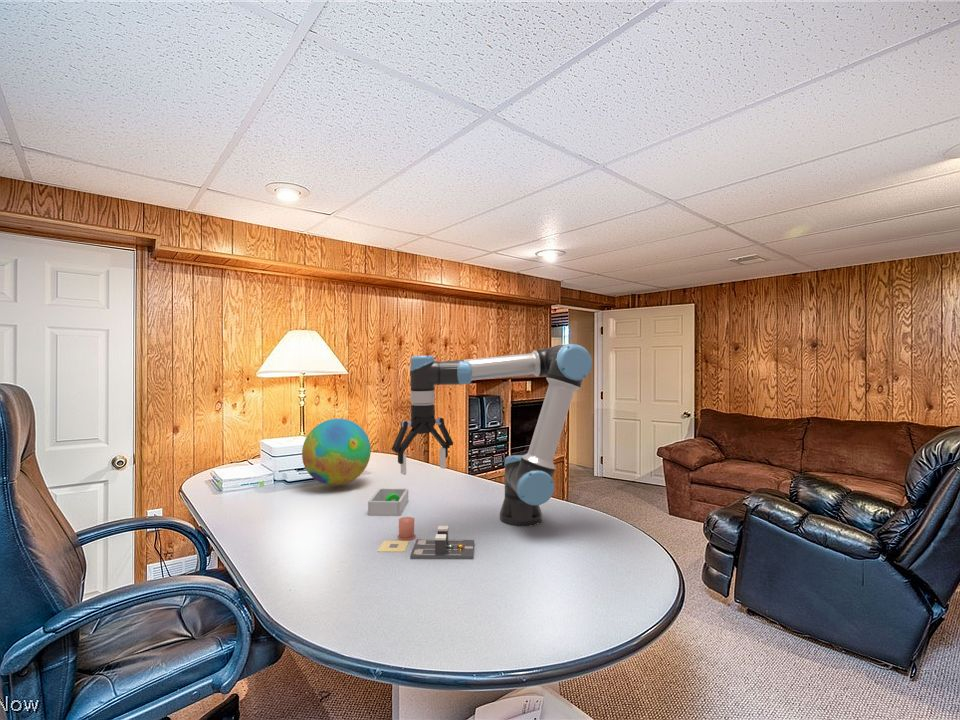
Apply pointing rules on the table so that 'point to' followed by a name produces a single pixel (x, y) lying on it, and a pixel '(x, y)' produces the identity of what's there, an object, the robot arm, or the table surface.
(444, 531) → the toggle
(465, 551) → the breaker panel
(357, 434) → the globe
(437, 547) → the toggle
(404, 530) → the cap
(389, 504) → the parts corral
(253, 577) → the table surface
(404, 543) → the pad
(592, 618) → the table surface
